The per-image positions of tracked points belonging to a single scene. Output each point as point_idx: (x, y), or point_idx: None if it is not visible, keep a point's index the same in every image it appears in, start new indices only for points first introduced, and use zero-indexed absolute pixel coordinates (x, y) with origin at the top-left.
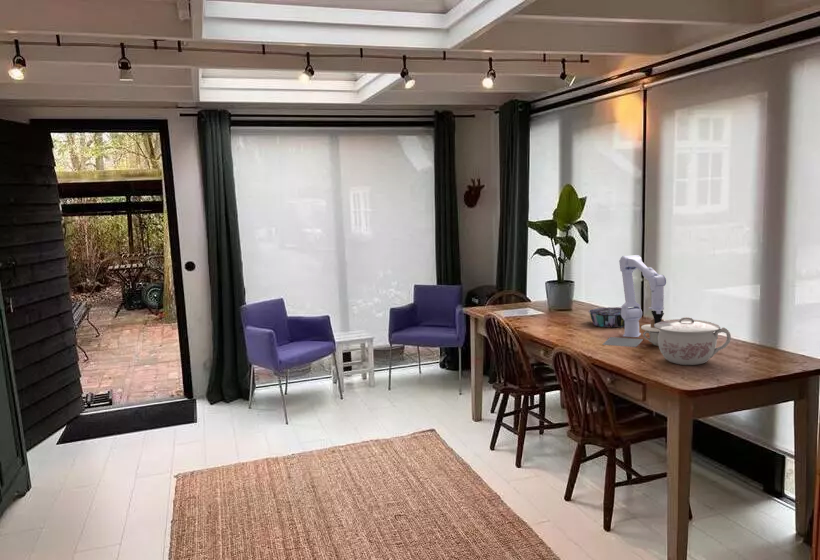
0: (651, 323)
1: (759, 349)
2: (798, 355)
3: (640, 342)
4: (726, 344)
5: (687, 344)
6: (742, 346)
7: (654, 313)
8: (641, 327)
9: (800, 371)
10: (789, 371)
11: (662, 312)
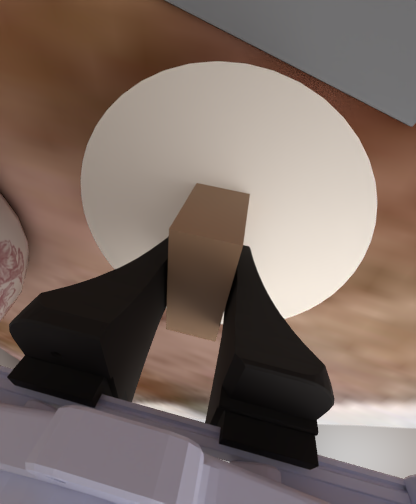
0: (183, 209)
1: (166, 386)
2: None
3: (307, 72)
4: None
5: None
6: (195, 380)
7: (17, 332)
8: (214, 61)
9: (16, 358)
10: (7, 348)
11: (205, 421)
